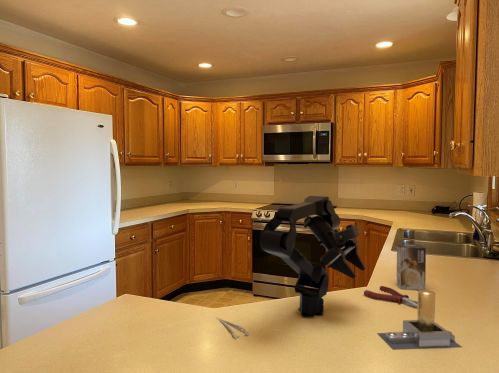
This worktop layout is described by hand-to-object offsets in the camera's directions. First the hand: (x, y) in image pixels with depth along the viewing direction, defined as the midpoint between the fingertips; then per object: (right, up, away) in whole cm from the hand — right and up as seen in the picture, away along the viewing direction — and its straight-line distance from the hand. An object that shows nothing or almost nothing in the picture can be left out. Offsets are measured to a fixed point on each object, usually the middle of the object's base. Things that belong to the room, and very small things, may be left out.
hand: (359, 273), depth 108 cm
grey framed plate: (+11, -14, -15) cm, 23 cm away
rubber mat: (+11, -14, -14) cm, 23 cm away
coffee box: (+29, -13, +31) cm, 44 cm away
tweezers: (-39, -14, -5) cm, 42 cm away
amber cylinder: (+13, -14, -14) cm, 24 cm away
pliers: (+16, -14, +16) cm, 27 cm away
